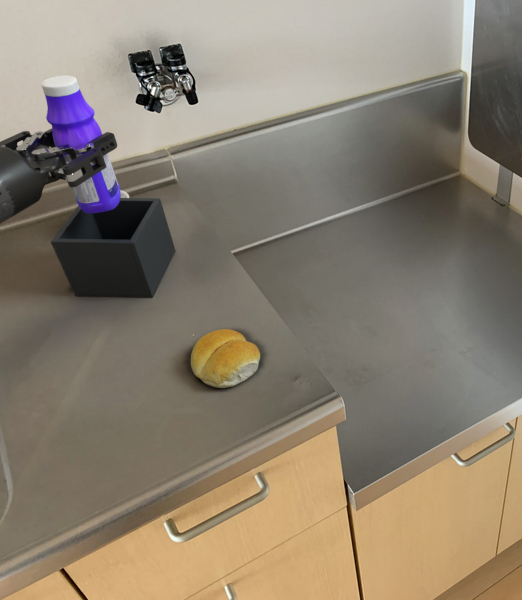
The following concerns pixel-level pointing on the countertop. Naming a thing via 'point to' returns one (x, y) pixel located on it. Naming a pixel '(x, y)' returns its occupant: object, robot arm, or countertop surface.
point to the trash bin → (116, 249)
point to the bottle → (79, 141)
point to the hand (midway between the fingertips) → (91, 134)
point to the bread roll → (224, 358)
